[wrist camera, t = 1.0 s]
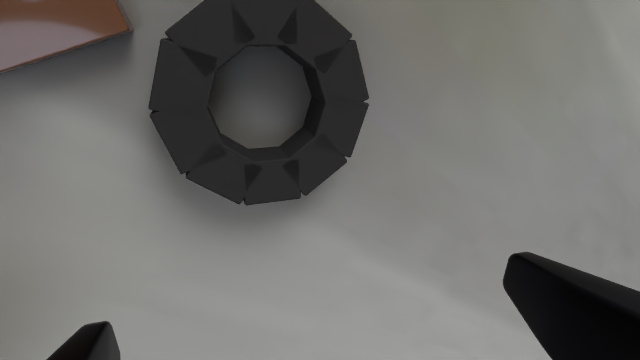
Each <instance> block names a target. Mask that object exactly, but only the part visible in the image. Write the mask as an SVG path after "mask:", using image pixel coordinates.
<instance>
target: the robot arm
mask: <svg viewBox="0 0 640 360" xmlns="http://www.w3.org/2000/svg"><path fill="white" fill-rule="evenodd" d="M503 286H504V289H505V291H506V292H507V294H508V296H509V297H510V299H511V300H512V302H513V303H514V305H515V306H516V308H517V309H518V311H519V312H520V314H521V315H522V317H523V318H524V320H525V321H526V323H527V324H528V326H529V327H530V329H531V331H532V332H533V334H534V335H535V337H536V338H537V340H538V341H539V342H540V344H541V345H542V347H543V348H544V349H545V351H546V352H547V353H548V355H549V356H550V357H551V359H552V360H640V292H639V291H637V290H634V289H631V288H628V287H625V286H623V285H620V284H617V283H614V282H611V281H609V280H606V279H603V278H600V277H597V276H595V275H592V274H589V273H586V272H583V271H581V270H578V269H575V268H572V267H569V266H566V265H564V264H561V263H558V262H555V261H552V260H550V259H547V258H544V257H541V256H538V255H536V254H533V253H530V252H521V253H515V254H512V255H511V256H510V257H509V259H508V263H507V267H506V270H505V274H504V278H503ZM46 360H120V351H119V347H118V344H117V341H116V338H115V334H114V331H113V328H112V325H111V324H110V323H109V322H107V321H103V322H97V323H91V324H86V325H84V326H83V327H81V328H80V329H79V330H78V331H77V332H76V333H75V334H74V335H72V336H71V337H70V338H69V339H68V340H67V341H66V342H65V343H64V344H63V345H62V346H61V347H59V348H58V349H57V350H56V351H55V352H54V353H53V354H52V355H51V356H50V357H49V358H48V359H46Z"/></svg>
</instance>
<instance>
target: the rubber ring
mask: <svg viewBox="0 0 640 360" xmlns="http://www.w3.org/2000/svg"><path fill="white" fill-rule="evenodd" d="M165 34H166V35H167V36H168V37H169V38H170V39H161V41H160V47H159V52H158V58H157V63H156V69H155V74H154V80H153V85H152V91H151V97H150V102H149V109H150V110H153V111H152V112H151V114H150V117H151V119H152V121H153V123H154V125H155V127H156V129H157V130H158V132H159V134H160V136H161V138H162V140H163V142H164V144H165V145H166V147H167V149H168V151H169V153H170V155H171V157H172V158H173V160H174V162H175V164H176V166H177V168H178V170H179V172H180V173H181V174H183V173H186V178H187V179H188V180H191V181H193V182H195V183H197V184H199V185H201V186H203V187H205V188H207V189H209V190H211V191H213V192H215V193H217V194H219V195H221V196H223V197H225V198H227V199H229V200H231V201H233V202H235V203H237V204H240V203H241V202H242V201H243V200H244V203H245V205H253V204H261V203H269V202H276V201H284V200H292V199H299V198H300V197H301V192H302V193H303V195H305V196H306V195H308V194H309V193H310V192H311V191H312V190H314V189H315V188H316V187H317V186H318V185H320V184H321V183H322V182H323V181H325V180H326V179H327V178H328V177H329V176H331V175H332V174H333V173H334V172H335V171H337V170H338V169H339V168H340V167H342V166H343V165H344V164H345V163H346V162H347V160H346V158H345V157H344V156H346V157H351V155H352V152H353V149H354V146H355V143H356V141H357V138H358V135H359V132H360V129H361V126H362V123H363V120H364V117H365V114H366V112H367V109H368V106H369V104H368V103H365V102H363V101H365V100H367V99H369V96H368V91H367V87H366V83H365V79H364V75H363V70H362V66H361V62H360V58H359V53H358V49H357V45H356V41H355V40H349V39H350V38H351V36H352V34H351V33H350V32H349V31H348V30H347V29H346V28H344V27H343V26H342V25H341V24H340V23H339V22H338V21H337V20H336V19H334V18H333V17H332V16H331V15H330V14H329V13H328V12H327V11H325V10H324V9H323V8H322V7H321V6H320V5H319V4H318V3H316V2H315V1H314V0H204V1H203V2H202V3H200V4H199V5H198V6H197V7H195V8H194V9H193V10H192V11H190V12H189V13H188V14H187V15H185V16H184V17H183V18H182V19H180V20H179V21H178V22H177V23H175V24H174V25H173V26H172V27H170V28H169V29H168V30H167V31H166V32H165ZM246 46H277V47H278V48H280V49H281V50H282V51H283V52H285V53H286V54H287V55H289V56H290V57H291V58H293V59H294V60H295V61H296V62H298V63H299V64H300V65H302V67H303V70H304V73H305V76H306V79H307V83H308V86H309V89H310V92H311V96H312V98H311V102H310V105H309V108H308V112H307V115H306V118H305V122H304V125H303V128H301V129H300V130H299V131H298V132H296V133H295V134H294V135H293V136H292V137H290V138H289V139H288V140H287V141H285V142H284V143H283V144H282V145H281V146H279V147H269V148H257V149H247V148H245V147H244V146H242V145H240V144H238V143H237V142H235V141H233V140H232V139H230V138H228V137H226V136H225V135H223V134H221V133H220V132H219V129H218V127H217V125H216V123H215V120H214V118H213V116H212V114H211V112H210V109H209V107H208V105H209V100H210V96H211V91H212V87H213V83H214V78H215V74H216V70H218V69H219V68H220V67H221V66H223V65H224V64H225V63H226V62H228V61H229V60H230V59H231V58H233V57H234V56H235V55H236V54H238V53H239V52H240V51H241V50H243V49H244V48H245V47H246Z"/></svg>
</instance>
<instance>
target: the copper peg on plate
mask: <svg viewBox="0 0 640 360" xmlns="http://www.w3.org/2000/svg"><path fill="white" fill-rule="evenodd" d="M132 31H133V28H132V26H131V24H130V22H129V20H128V18H127V16H126V14H125V12H124V10H123V8H122V6H121V4H120V2H119V0H0V74H3V73H6V72H9V71H12V70H16V69H19V68H22V67H25V66H28V65H31V64H34V63H37V62H40V61H43V60H46V59H50V58H53V57H56V56H59V55H62V54H65V53H68V52H71V51H74V50H77V49H80V48H84V47H87V46H90V45H93V44H96V43H99V42H102V41H105V40H108V39H111V38H114V37H118V36H121V35H124V34H127V33H130V32H132Z"/></svg>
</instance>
